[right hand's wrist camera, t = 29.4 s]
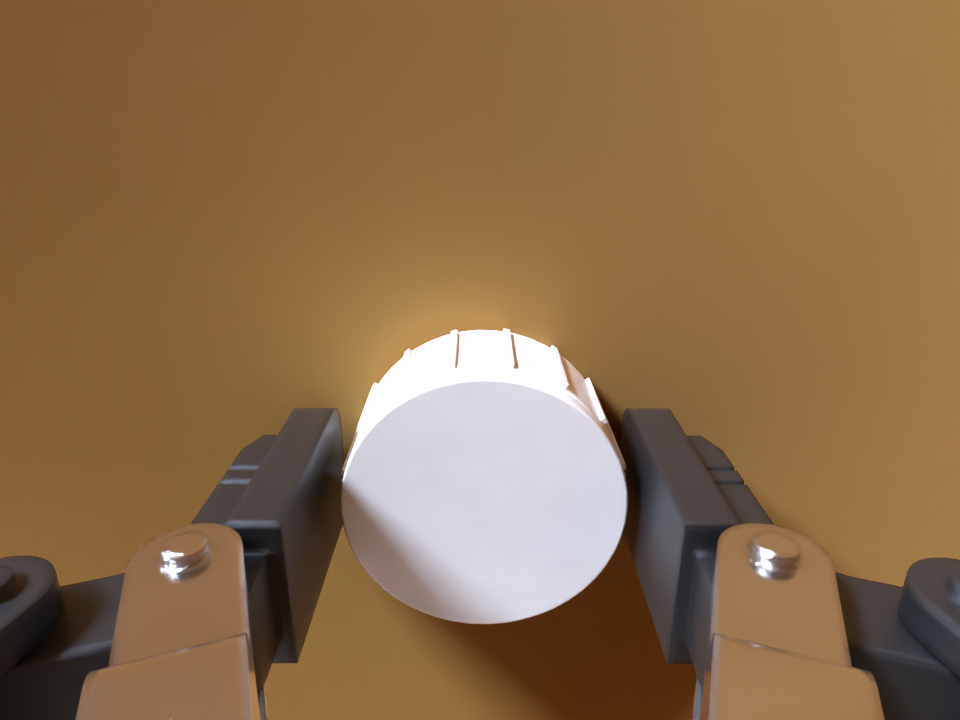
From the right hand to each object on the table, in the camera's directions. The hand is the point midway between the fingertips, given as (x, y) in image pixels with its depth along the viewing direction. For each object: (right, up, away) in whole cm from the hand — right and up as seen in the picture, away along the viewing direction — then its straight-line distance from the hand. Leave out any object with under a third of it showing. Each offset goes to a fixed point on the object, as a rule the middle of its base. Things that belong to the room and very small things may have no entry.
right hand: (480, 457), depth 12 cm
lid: (0, 0, -1) cm, 1 cm away
